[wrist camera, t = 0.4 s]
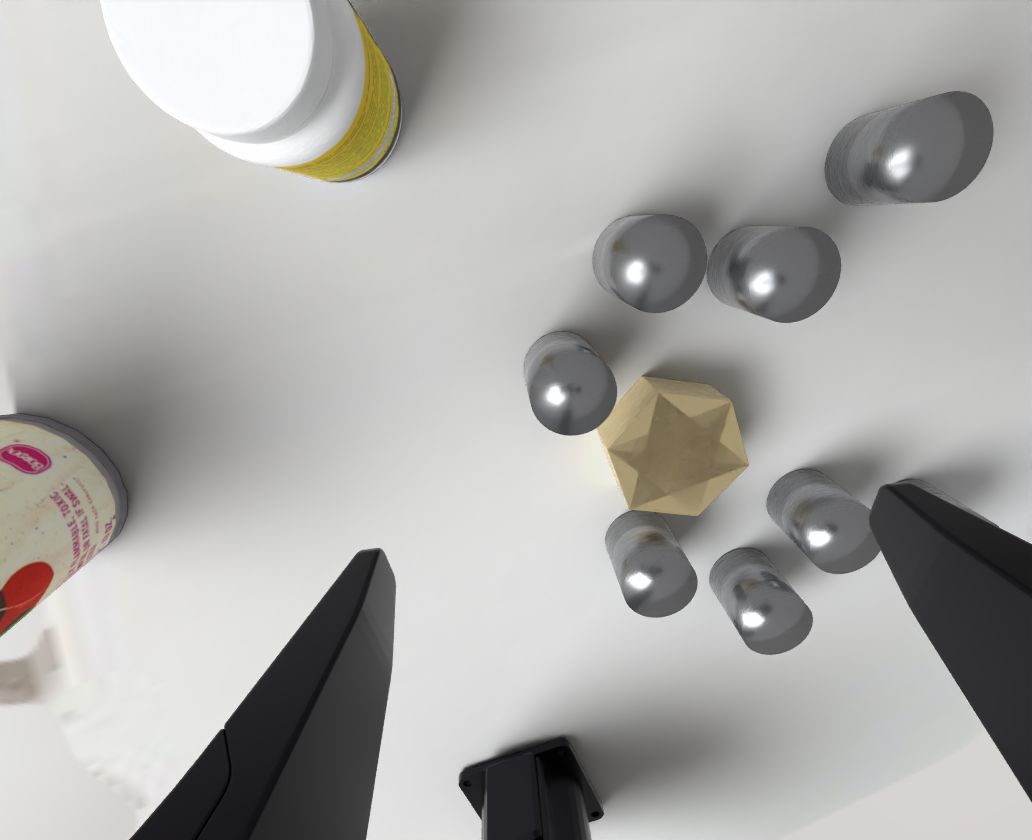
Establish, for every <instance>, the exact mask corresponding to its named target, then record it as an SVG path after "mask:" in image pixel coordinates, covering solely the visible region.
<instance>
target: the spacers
mask: <svg viewBox="0 0 1032 840" xmlns="http://www.w3.org/2000/svg"><path fill="white" fill-rule="evenodd" d="M992 141H993V122H992V118H991V115H990V112H989V110H988V108H987V107H986V105H985V104H984V103H983V102H982V101H981V100H980V99H979V98H978V97H976V96H974V95H972V94H970V93H967V92H960V91H955V92H948V93H943V94H940V95H936V96H933V97H929V98H925V99H922V100H918V101H915V102H911V103H908V104H904V105H900V106H897V107H893V108H890V109H886V110H882V111H879V112H875V113H872V114H868V115H865V116H862V117H859V118H857V119H855V120H853V121H852V122H850V123H849V124H848V125H846V126H845V127H844V128H843V129H842V130H841V131H840V132H839V134H838V135H837V136H836V138H835V139H834V141H833V142H832V144H831V146H830V148H829V151H828V154H827V158H826V163H825V178H826V182H827V185H828V188H829V189H830V191H831V193H832V194H833V195H834V196H835V197H836V198H837V199H838V200H840V201H841V202H843V203H846V204H849V205H877V204H901V203H925V202H938V201H942V200H945V199H948V198H950V197H952V196H954V195H956V194H958V193H959V192H961V191H962V190H963V189H965V188H966V187H967V186H968V185H969V184H970V183H971V182H972V181H973V180H974V179H975V178H976V177H977V175H978V174H979V172H980V171H981V169H982V168H983V166H984V164H985V162H986V160H987V158H988V156H989V153H990V150H991V146H992ZM706 265H707V253H706V247H705V244H704V241H703V239H702V237H701V235H700V233H699V232H698V230H697V229H696V228H695V227H694V226H693V225H692V224H691V223H689V222H688V221H686V220H685V219H683V218H680V217H678V216H673V215H637V216H627V217H623V218H620V219H618V220H616V221H614V222H613V223H611V224H610V225H609V226H608V227H607V228H606V229H605V230H604V231H603V232H602V233H601V235H600V236H599V238H598V240H597V242H596V245H595V247H594V251H593V269H594V273H595V276H596V278H597V280H598V281H599V283H600V284H601V286H602V287H603V288H604V289H605V290H606V291H608V292H609V293H611V294H612V295H614V296H616V297H618V298H619V299H621V300H623V301H624V302H626V303H628V304H629V305H631V306H633V307H635V308H637V309H639V310H641V311H644V312H649V313H661V312H666V311H670V310H673V309H675V308H677V307H679V306H680V305H682V304H684V303H685V302H686V301H687V300H689V299H690V298H691V297H692V296H693V294H694V293H695V292H696V291H697V289H698V287H699V286H700V284H701V282H702V280H703V277H704V274H705V270H706ZM840 272H841V260H840V255H839V251H838V249H837V247H836V245H835V243H834V242H833V240H832V239H831V238H830V237H829V236H828V235H827V234H825V233H824V232H822V231H820V230H817V229H814V228H810V227H778V226H746V227H741V228H738V229H736V230H734V231H732V232H730V233H728V234H727V235H726V236H725V237H723V238H722V239H721V240H720V241H719V242H718V244H717V245H716V246H715V248H714V250H713V251H712V253H711V256H710V258H709V261H708V266H707V279H708V284H709V287H710V289H711V291H712V292H713V294H714V295H715V296H716V297H717V298H718V299H719V300H720V301H721V302H723V303H725V304H727V305H730V306H733V307H736V308H738V309H741V310H744V311H747V312H750V313H753V314H756V315H759V316H761V317H764V318H767V319H770V320H773V321H776V322H782V323H791V322H797V321H800V320H803V319H805V318H808V317H810V316H811V315H813V314H815V313H816V312H817V311H818V310H820V309H821V308H822V307H823V306H824V305H825V304H826V303H827V301H828V300H829V299H830V297H831V296H832V295H833V293H834V291H835V289H836V287H837V284H838V281H839V278H840ZM524 377H525V382H526V386H527V390H528V394H529V398H530V403H531V407H532V410H533V412H534V414H535V416H536V417H537V419H538V420H539V421H540V423H541V424H542V425H544V426H545V427H546V428H548V429H549V430H551V431H553V432H555V433H558V434H562V435H580V434H584V433H587V432H590V431H592V430H594V429H595V428H597V427H598V426H600V425H601V424H602V423H603V422H604V421H605V420H606V419H607V418H608V417H609V415H610V414H611V412H612V410H613V408H614V406H615V402H616V397H617V386H616V381H615V378H614V376H613V373H612V372H611V370H610V369H609V367H608V366H607V365H606V364H605V363H604V361H603V360H602V359H601V358H600V357H599V355H598V354H597V353H596V352H595V350H594V349H593V348H592V347H591V346H590V344H589V343H588V342H587V341H586V340H585V339H583V338H582V337H580V336H578V335H576V334H574V333H570V332H554V333H550V334H547V335H545V336H543V337H542V338H540V339H539V340H537V341H536V342H535V343H534V344H533V345H532V346H531V348H530V349H529V351H528V353H527V355H526V358H525V361H524ZM900 482H908V483H912V484H914V485H916V486H918V487H920V488H922V489H924V490H926V491H928V492H930V493H932V494H934V495H936V496H938V497H940V498H942V499H944V500H946V501H948V502H949V503H951V504H953V505H955V506H957V507H959V508H961V509H963V510H965V511H967V512H969V513H971V514H973V515H975V516H977V517H979V518H981V519H983V520H985V521H987V522H989V523H991V524H993V525H995V526H997V525H996V524H994V523H993V522H991V521H989V520H988V519H986V518H984V517H983V516H981V515H979V514H978V513H976V512H974V511H973V510H971V509H969V508H968V507H966V506H964V505H963V504H961V503H959V502H958V501H956V500H954V499H953V498H951V497H949V496H948V495H946V494H944V493H943V492H941V491H939V490H937V489H936V488H934V487H932V486H931V485H929V484H927V483H926V482H924V481H921V480H916V479H910V480H903V481H900ZM900 482H897V483H900ZM767 511H768V514H769V515H770V517H771V518H772V520H773V521H774V522H775V523H776V524H777V525H778V526H779V527H780V528H781V529H782V530H783V531H784V532H785V533H786V534H787V535H788V536H789V537H790V538H791V539H792V540H793V542H794V543H795V544H796V545H797V546H798V547H799V548H800V549H801V550H802V551H803V552H804V553H805V554H806V555H807V556H808V557H809V558H810V559H811V560H812V561H813V562H814V564H815V565H816V566H817V567H819V568H820V569H821V570H823V571H825V572H828V573H833V574H844V573H849V572H853V571H856V570H858V569H860V568H862V567H864V566H865V565H867V564H868V563H870V562H871V561H872V560H873V559H874V558H875V557H876V556H877V555H878V553H879V552H880V550H881V549H880V547H879V545H878V543H877V541H876V539H875V537H874V535H873V533H872V531H871V528H870V525H869V515H870V512H871V510H870V509H868V508H867V507H866V506H864V505H863V504H862V503H860V502H859V501H858V500H856V499H855V498H854V497H852V496H851V495H850V494H849V493H847V492H846V491H845V490H843V489H842V488H841V487H839V486H838V485H837V484H835V483H834V482H833V481H831V480H830V479H829V478H827V477H826V476H825V475H823V474H822V473H820V472H818V471H815V470H811V469H801V470H796V471H793V472H791V473H788V474H787V475H785V476H783V477H782V478H781V479H779V480H778V481H777V482H776V483H775V484H774V486H773V487H772V489H771V490H770V492H769V495H768V498H767ZM997 527H998V526H997ZM605 544H606V548H607V551H608V554H609V557H610V560H611V562H612V565H613V568H614V571H615V573H616V576H617V579H618V582H619V584H620V587H621V590H622V593H623V595H624V598H625V601H626V603H627V604H628V606H629V607H630V608H631V609H632V610H633V611H635V612H636V613H638V614H640V615H643V616H646V617H665V616H669V615H672V614H674V613H676V612H678V611H680V610H681V609H683V608H684V607H685V606H686V605H687V604H688V603H689V602H690V601H691V600H692V598H693V597H694V595H695V592H696V589H697V583H698V582H697V576H696V573H695V571H694V569H693V567H692V566H691V564H690V562H689V561H688V559H687V557H686V555H685V554H684V552H683V550H682V549H681V547H680V545H679V544H678V542H677V540H676V539H675V537H674V535H673V534H672V532H671V530H670V528H669V527H668V525H667V523H666V522H665V520H664V519H663V518H662V517H661V516H659V515H658V514H656V513H654V512H650V511H640V510H635V511H631V512H628V513H625V514H623V515H621V516H620V517H618V518H617V519H616V520H615V521H614V522H613V523H612V524H611V525H610V527H609V529H608V531H607V533H606V538H605ZM709 580H710V586H711V588H712V590H713V591H714V593H715V595H716V596H717V598H718V599H719V601H720V603H721V604H722V606H723V608H724V609H725V611H726V613H727V614H728V616H729V617H730V619H731V621H732V622H733V624H734V626H735V627H736V629H737V631H738V632H739V634H740V636H741V637H742V639H743V640H744V642H745V644H746V645H747V646H748V647H749V648H750V649H751V650H753V651H755V652H757V653H761V654H766V655H772V654H780V653H783V652H786V651H789V650H791V649H793V648H794V647H796V646H797V645H799V644H800V643H801V642H802V641H803V640H804V639H805V638H806V637H807V635H808V634H809V632H810V630H811V627H812V623H813V617H812V613H811V611H810V609H809V607H808V606H807V605H806V604H805V603H804V601H803V600H802V599H801V598H800V597H799V595H798V594H797V593H796V592H795V591H794V589H793V588H792V587H791V586H790V585H789V583H788V582H787V581H786V580H785V579H784V577H783V576H782V575H781V574H780V573H779V571H778V570H777V569H776V568H775V566H774V565H773V564H772V563H771V562H770V560H769V559H768V558H767V557H766V556H765V555H764V554H763V553H761V552H760V551H758V550H755V549H750V548H743V549H737V550H733V551H731V552H729V553H727V554H725V555H724V556H722V557H721V558H720V559H719V560H718V561H717V562H716V563H715V564H714V566H713V568H712V570H711V572H710V578H709Z"/></svg>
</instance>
